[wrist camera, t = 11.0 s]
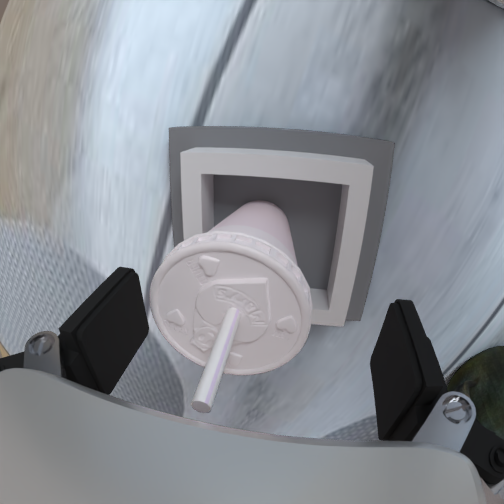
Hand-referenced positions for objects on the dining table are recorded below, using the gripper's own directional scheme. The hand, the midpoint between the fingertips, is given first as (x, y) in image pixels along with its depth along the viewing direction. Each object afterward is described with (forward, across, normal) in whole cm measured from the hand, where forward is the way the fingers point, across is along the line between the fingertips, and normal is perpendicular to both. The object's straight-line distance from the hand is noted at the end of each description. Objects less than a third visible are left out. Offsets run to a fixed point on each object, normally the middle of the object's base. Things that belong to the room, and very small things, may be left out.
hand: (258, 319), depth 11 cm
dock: (+11, 0, +1) cm, 11 cm away
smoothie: (+10, +1, +1) cm, 10 cm away
